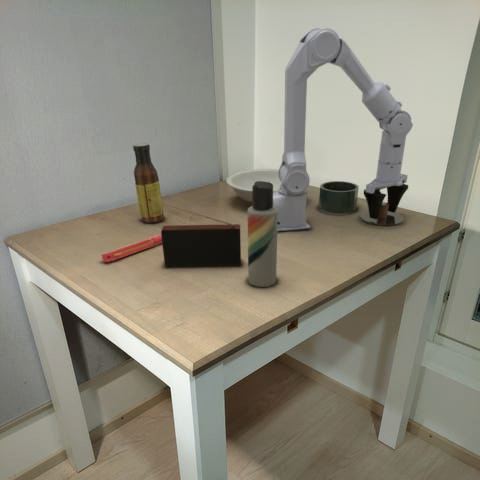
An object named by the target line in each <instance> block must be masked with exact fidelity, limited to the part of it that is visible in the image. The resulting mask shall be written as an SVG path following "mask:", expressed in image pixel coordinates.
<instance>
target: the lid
mask: <svg viewBox="0 0 480 480" xmlns="http://www.w3.org/2000/svg"><path fill="white" fill-rule="evenodd" d="M388 207H389V204H388V203H387V202H385V201H383V202H382V205H381V208H380V213H379V216H378V219H373V218H370V216H369V210H367V211H364V212H362V213H361V214H360V216H359V219H360V220H361V221H362V222H363V223H366V224H368V225H371V226H375V227H377V226H378V227H394V226H395V227H396V226H399V225H402V224H404V222H405V217H404V216H403V214H400V213H398V212H396V211H395V212H394V213H393V212H390V211H388Z"/></svg>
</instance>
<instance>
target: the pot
mask: <svg viewBox="0 0 480 480" xmlns="http://www.w3.org/2000/svg"><path fill="white" fill-rule="evenodd" d="M359 189H360V188H359V185H358V184H356V183H354V182H350V181H343V180H331V181H326V182H323V183H321V184H320V186H319V197H318V208H319V209H320V210H321V211H323V212H327V213H332V214H347V213H351V212H354V211H356V210H357V205H358V198H359V197H358V196H359Z"/></svg>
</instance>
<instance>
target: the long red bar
mask: <svg viewBox="0 0 480 480" xmlns="http://www.w3.org/2000/svg"><path fill="white" fill-rule="evenodd" d="M161 244H162V236H161V233H160V234H156V235H154V236H151V237H148V238H145V239H142V240H139V241H136V242H133V243H131V244H128V245H124V246H122V247H119V248H115V249H113V250H110V251H108V252H107V253H103V254H101V255H100V256H101V259H102V261H103V263H109V262H113V261H117V260H119V259H123V258H124V257H128V256H130V255H133V254H135V253H136V254H137V253H139V252H142V251H144V250H148V249H150V248H153V247H155V246H158V245H161Z"/></svg>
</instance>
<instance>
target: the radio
mask: <svg viewBox="0 0 480 480" xmlns="http://www.w3.org/2000/svg"><path fill="white" fill-rule="evenodd" d="M148 200H149V201H153V200H151V199H148ZM154 202H156V201H154ZM157 203H160V202H157ZM160 204H163V205H164V206H166V207H170V208H174V209H177V210H180V211H183V212H186V213H190V214H193V215H196V216H200V217H203V218H205V219H209V220H213V221H216V222H219V223H222V224H189V225H188V224H184V225H183V224H179V225H163V226H162V228H161V231H160V234H161V236H162V243H161V244H162V253H163V261H164V267H165V268H213V267H215V268H216V267H240V266H241V265H242V250H241V247H242V245H241V241H242V240H241V225H240V224H238V223H237V224H235V223H234V224H233V223H230V222H227V221H223V220H220V219H217V218H213V217H211V216H206V215H203V214H199V213H197V212H193V211H189V210H186V209H183V208H181V207H177V206H173V205H169V204H166V203H163V202H162V203H160Z"/></svg>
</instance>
